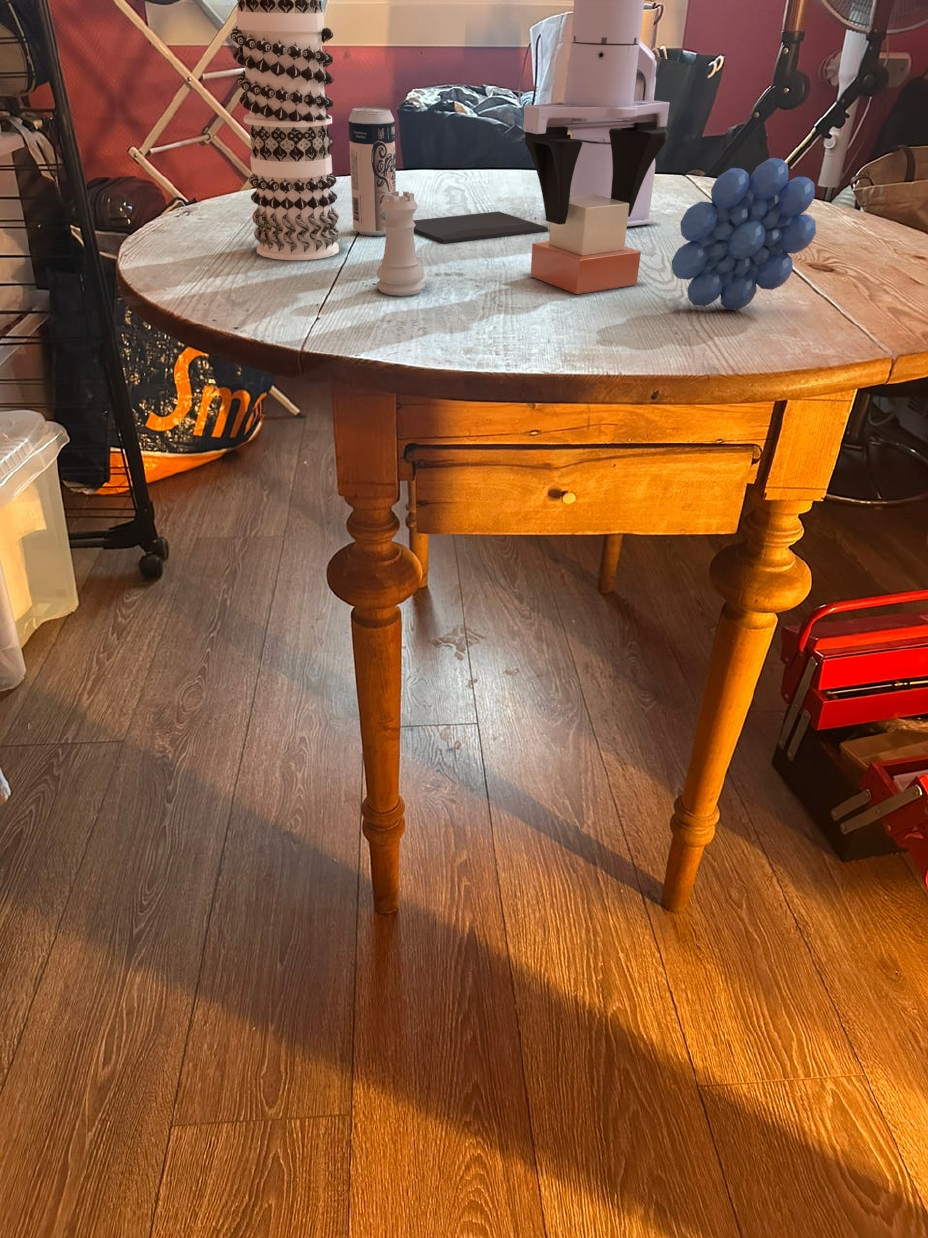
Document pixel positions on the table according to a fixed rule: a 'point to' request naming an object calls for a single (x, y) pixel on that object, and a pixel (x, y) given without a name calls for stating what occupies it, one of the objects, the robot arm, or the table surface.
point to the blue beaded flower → (745, 234)
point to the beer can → (371, 167)
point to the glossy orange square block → (584, 268)
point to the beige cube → (591, 226)
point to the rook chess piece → (399, 248)
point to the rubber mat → (474, 227)
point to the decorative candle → (288, 126)
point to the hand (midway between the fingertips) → (588, 218)
